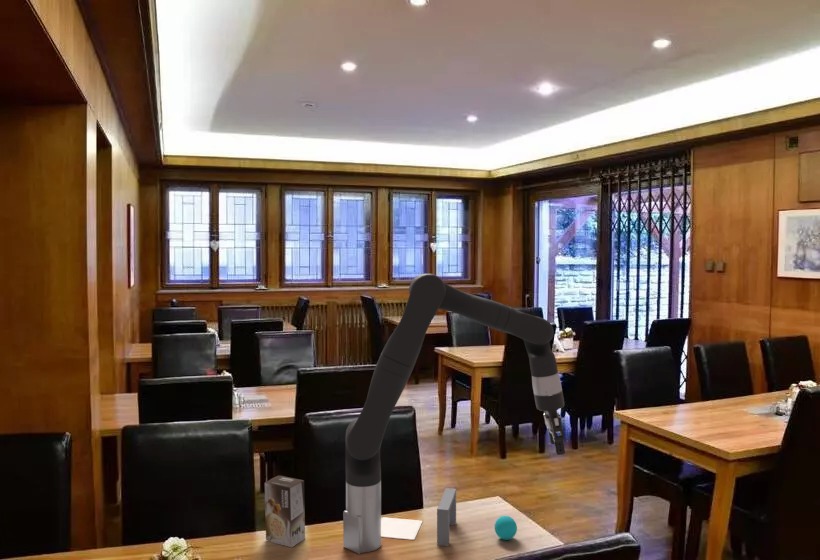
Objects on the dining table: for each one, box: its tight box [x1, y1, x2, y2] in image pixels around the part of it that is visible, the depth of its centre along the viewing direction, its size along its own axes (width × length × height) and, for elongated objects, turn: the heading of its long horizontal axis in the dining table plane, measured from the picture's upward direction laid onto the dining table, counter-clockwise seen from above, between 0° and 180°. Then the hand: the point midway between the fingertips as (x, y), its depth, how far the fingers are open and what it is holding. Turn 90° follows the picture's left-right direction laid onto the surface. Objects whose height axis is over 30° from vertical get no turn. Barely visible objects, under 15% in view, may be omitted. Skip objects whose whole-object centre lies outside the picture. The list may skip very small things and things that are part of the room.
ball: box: [494, 515, 518, 541], centre depth 168 cm, size 6×6×6 cm
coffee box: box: [264, 475, 306, 548], centre depth 167 cm, size 9×6×16 cm
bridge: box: [436, 487, 457, 547], centre depth 171 cm, size 3×15×10 cm, turn 168°
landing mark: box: [381, 516, 423, 541], centre depth 174 cm, size 12×12×1 cm
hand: (557, 448), depth 168 cm, fingers open, 8 cm apart
